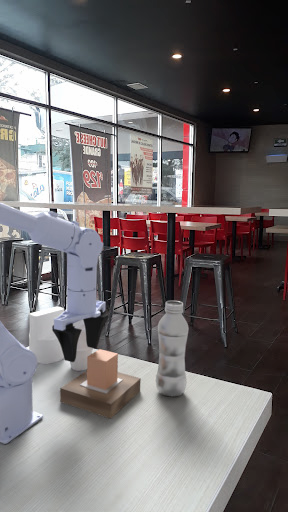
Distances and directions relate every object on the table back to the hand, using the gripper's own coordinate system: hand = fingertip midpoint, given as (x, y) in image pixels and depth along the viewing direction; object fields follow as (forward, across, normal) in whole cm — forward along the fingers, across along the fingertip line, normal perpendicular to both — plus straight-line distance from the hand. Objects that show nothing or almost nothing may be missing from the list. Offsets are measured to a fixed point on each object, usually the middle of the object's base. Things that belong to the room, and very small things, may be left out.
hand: (81, 353), depth 80 cm
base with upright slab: (+10, +13, +20) cm, 26 cm away
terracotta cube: (+7, +3, -3) cm, 8 cm away
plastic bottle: (+10, +12, -15) cm, 22 cm away
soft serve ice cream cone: (+10, +12, +9) cm, 18 cm away
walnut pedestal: (+10, +3, -3) cm, 11 cm away
